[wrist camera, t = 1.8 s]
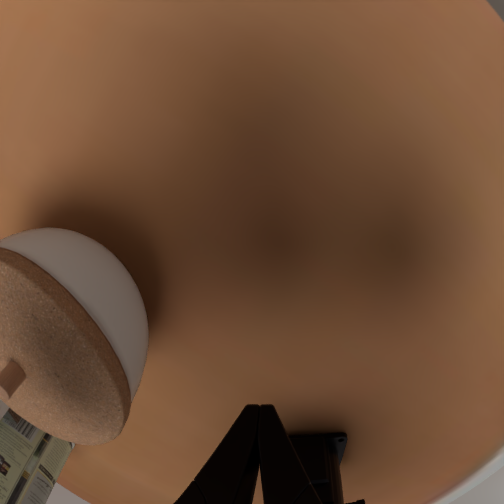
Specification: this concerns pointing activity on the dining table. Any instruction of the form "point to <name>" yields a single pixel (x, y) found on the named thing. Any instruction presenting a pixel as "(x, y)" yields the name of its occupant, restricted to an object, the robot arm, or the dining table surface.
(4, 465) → the coffee can
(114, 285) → the lidded jar
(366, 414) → the dining table surface
